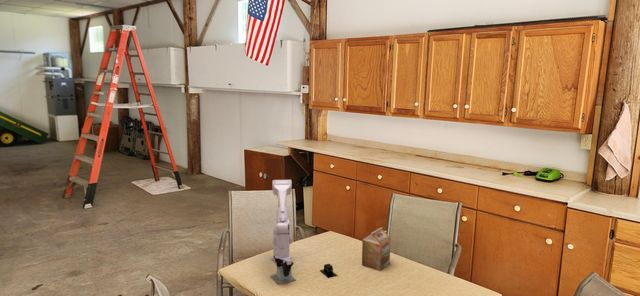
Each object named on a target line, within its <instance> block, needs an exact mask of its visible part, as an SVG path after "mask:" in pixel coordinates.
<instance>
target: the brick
mask: <svg viewBox="0 0 640 296" xmlns="http://www.w3.org/2000/svg"><path fill="white" fill-rule="evenodd" d="M276 275H277V278H278V279H279V280H284V279H289V278H291V276H292V268H291V269H290V273H289V276H287V277H284V273H283V268H282V266H281V267H277V266H276Z"/></svg>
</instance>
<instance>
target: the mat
mask: <svg viewBox="0 0 640 296" xmlns="http://www.w3.org/2000/svg"><path fill="white" fill-rule="evenodd" d="M270 278H271V279H272V280H273V281H274V282H275V283H276V284H277V285H278V286H280V285H283V284H288V283H293V282H296V278H295V277H293V275H291V278H289V279H284V280H279V279H278V278H277V274H273V275H271V276H270Z"/></svg>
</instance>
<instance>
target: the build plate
mask: <svg viewBox="0 0 640 296" xmlns="http://www.w3.org/2000/svg"><path fill="white" fill-rule="evenodd" d="M319 272H320V273H321V274H323V275H324V276H325V277H326V278H327V279H330V278H334V277H335V278H336V277H338V276H339V275H338V274H337V273H335V272H334V268H333V265H331V263H327V264H323V269H319Z"/></svg>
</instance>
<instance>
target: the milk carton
mask: <svg viewBox="0 0 640 296" xmlns="http://www.w3.org/2000/svg"><path fill="white" fill-rule="evenodd" d="M391 240H392V239H391V237H390V235H388V233H386V232H385V231H384V230H383V226H382V227H379V228H378V229H376V230H374V231H372V232H371V234H369V235H368V236H366V237H364V238H363V239H362V240H361V242H362V243H361V244H362V245H361V246H362V247H361V249H362V250H361V266H362V267H365V268H367V269H368V268H369V269H371V270H375V271H378V272H381V271H382V270H383V269H385V268H386V267H388V266H390V264H391Z"/></svg>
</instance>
